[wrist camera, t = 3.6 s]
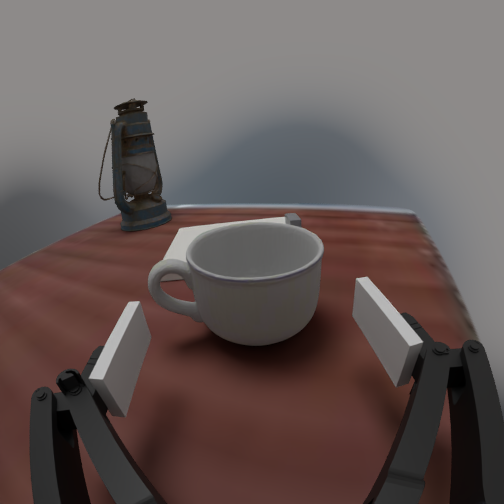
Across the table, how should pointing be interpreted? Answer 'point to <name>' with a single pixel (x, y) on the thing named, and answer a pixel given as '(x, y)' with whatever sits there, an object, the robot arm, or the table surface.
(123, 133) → the lantern
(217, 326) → the teacup
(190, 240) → the record player
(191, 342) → the table surface
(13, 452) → the table surface
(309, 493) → the table surface
